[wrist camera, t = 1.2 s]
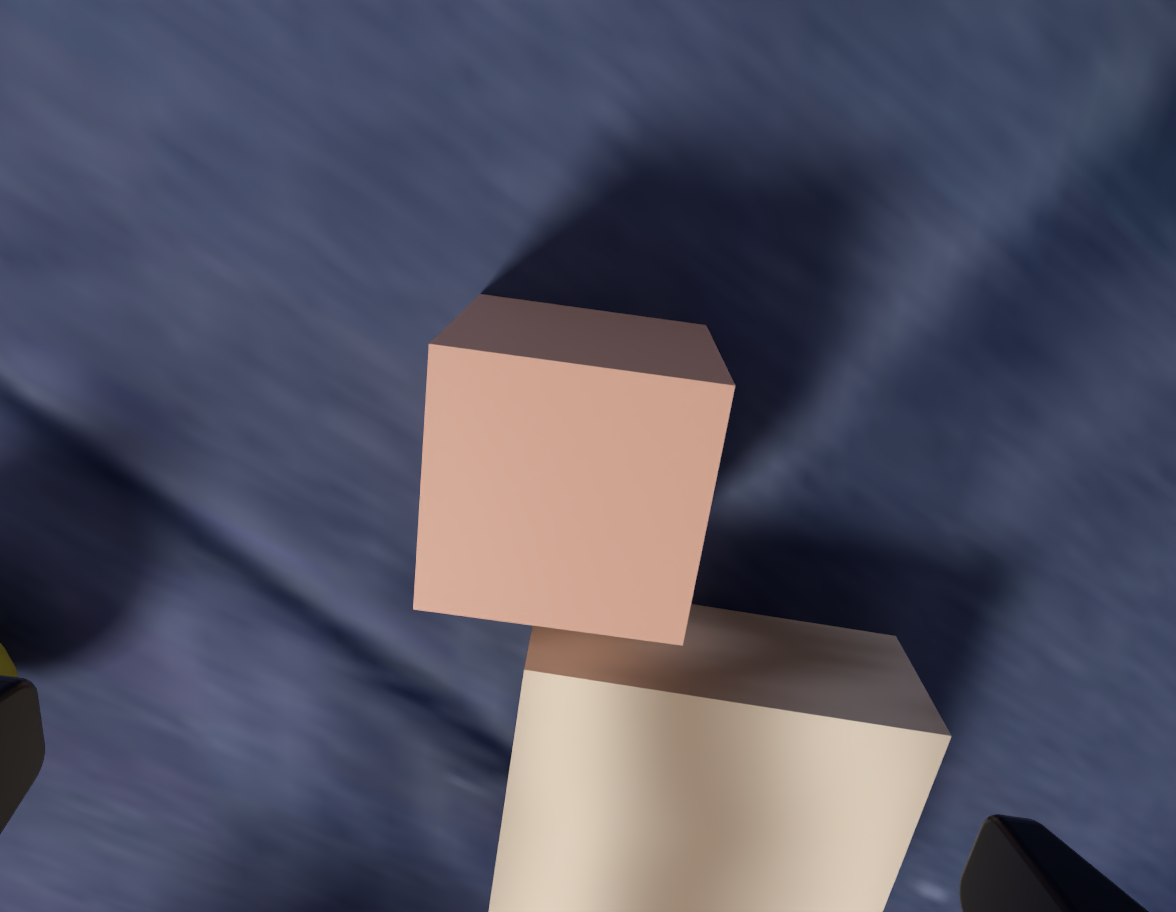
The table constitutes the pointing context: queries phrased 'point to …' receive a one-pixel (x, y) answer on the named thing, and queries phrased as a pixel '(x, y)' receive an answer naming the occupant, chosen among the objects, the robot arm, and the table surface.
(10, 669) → the lemon
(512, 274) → the table surface
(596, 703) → the beech block
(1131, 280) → the table surface
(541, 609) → the terracotta cube
